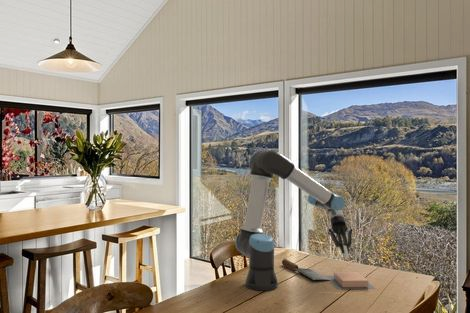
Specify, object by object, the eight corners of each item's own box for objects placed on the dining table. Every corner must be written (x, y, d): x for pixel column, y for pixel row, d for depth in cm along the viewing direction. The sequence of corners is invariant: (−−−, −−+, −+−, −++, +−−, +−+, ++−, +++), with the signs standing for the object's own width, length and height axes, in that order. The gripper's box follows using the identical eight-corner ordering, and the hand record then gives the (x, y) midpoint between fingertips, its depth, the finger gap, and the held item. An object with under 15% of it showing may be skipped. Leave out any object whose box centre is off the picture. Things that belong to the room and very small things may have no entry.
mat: (337, 290, 179) (337, 289, 179) (325, 276, 199) (325, 275, 199) (375, 289, 179) (375, 288, 179) (360, 276, 199) (360, 275, 199)
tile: (333, 278, 194) (342, 288, 180) (333, 271, 194) (342, 280, 180) (357, 278, 194) (368, 287, 180) (357, 271, 194) (368, 280, 180)
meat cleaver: (332, 279, 192) (332, 271, 192) (312, 283, 188) (312, 275, 188) (298, 263, 223) (298, 256, 223) (280, 266, 219) (280, 258, 219)
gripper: (347, 223, 212) (358, 262, 195) (323, 223, 211) (332, 262, 195) (350, 215, 206) (362, 254, 190) (326, 215, 206) (335, 254, 189)
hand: (347, 258), depth 192 cm, fingers closed
